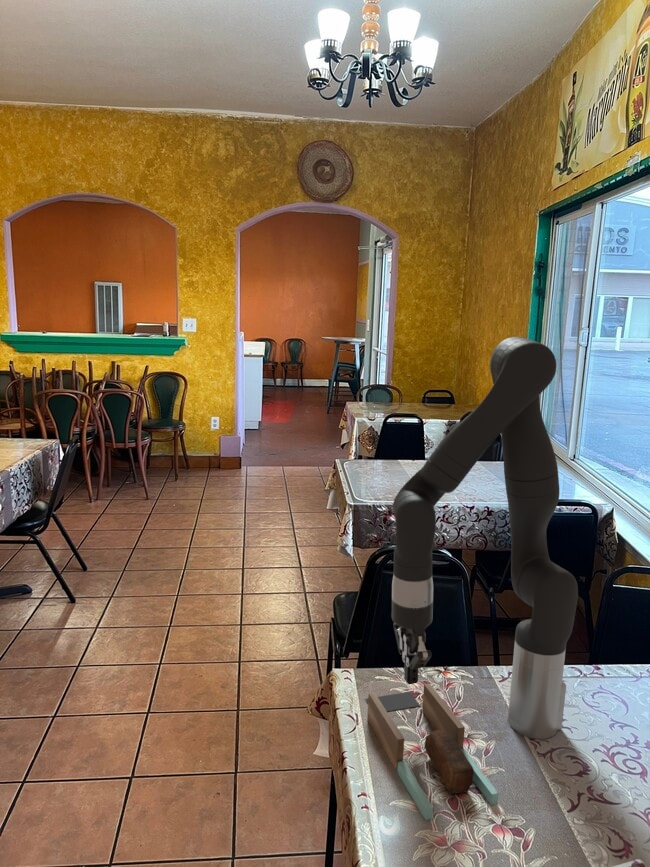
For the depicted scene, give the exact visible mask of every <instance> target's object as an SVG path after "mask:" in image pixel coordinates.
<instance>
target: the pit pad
mask: <svg viewBox="0 0 650 867" xmlns="http://www.w3.org/2000/svg"><path fill="white" fill-rule="evenodd" d="M377 697H378V699H379V700H380V702H381V703H382V705H383V706H384V708H385V709H386V711H387V713H390V712H396V711H402V710H407V709H414V708H420V707H421V705H420V703H419V702H418V700H417V699H416V698H415V697H414V695H413V694H412V692H411V691H405V692H399V693H393V694H387V695H380V696H377ZM364 701H365V702H366V703H367V704H368V698H365V699H364Z"/></svg>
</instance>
